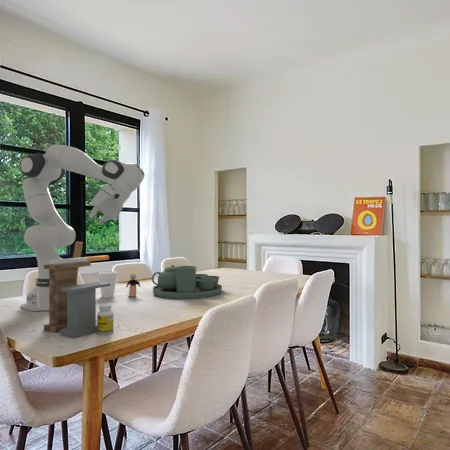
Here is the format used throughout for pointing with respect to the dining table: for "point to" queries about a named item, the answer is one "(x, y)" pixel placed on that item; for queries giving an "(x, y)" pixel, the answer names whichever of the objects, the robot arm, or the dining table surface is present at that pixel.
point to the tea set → (185, 283)
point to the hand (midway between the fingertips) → (95, 220)
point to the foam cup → (108, 278)
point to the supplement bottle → (105, 320)
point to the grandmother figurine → (132, 285)
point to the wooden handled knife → (78, 260)
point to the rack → (81, 309)
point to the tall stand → (60, 293)
